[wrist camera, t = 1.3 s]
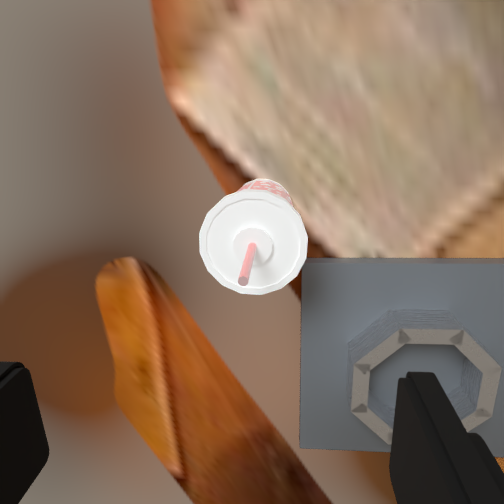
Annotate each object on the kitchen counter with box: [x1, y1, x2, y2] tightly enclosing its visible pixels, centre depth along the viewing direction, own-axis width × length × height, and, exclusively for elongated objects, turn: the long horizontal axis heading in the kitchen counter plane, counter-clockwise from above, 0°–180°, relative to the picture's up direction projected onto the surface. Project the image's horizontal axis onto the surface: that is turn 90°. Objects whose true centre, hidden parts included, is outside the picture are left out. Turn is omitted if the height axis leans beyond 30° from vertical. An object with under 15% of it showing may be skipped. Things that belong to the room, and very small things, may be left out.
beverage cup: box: [199, 179, 308, 295], centre depth 24 cm, size 6×6×14 cm
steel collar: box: [345, 309, 502, 445], centre depth 31 cm, size 10×10×3 cm
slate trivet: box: [299, 258, 504, 457], centre depth 33 cm, size 18×18×1 cm
